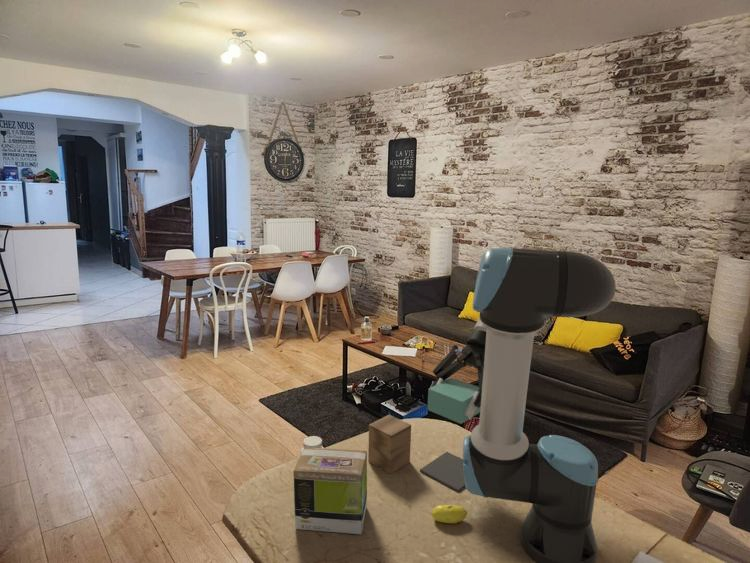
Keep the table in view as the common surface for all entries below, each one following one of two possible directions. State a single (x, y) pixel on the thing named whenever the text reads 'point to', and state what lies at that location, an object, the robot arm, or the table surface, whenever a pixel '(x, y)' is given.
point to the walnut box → (389, 443)
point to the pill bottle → (312, 442)
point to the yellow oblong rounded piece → (449, 513)
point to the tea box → (330, 490)
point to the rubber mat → (446, 471)
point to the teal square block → (452, 399)
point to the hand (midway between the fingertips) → (448, 409)
